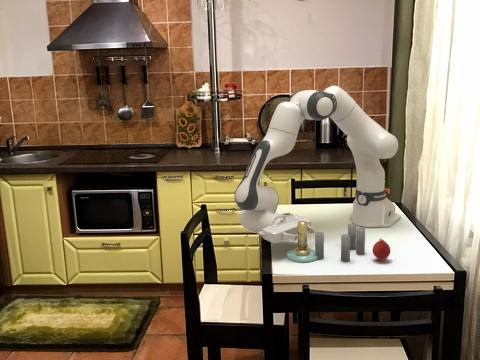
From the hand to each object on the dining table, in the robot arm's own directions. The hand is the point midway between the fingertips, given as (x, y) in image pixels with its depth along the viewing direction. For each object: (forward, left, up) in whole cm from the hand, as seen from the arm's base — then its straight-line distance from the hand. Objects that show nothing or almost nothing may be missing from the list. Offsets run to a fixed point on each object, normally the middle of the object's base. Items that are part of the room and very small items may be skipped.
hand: (304, 234), depth 185 cm
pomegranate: (-15, +21, -9) cm, 27 cm away
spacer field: (-10, +8, -8) cm, 16 cm away
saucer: (0, -1, -8) cm, 9 cm away
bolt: (0, -1, -7) cm, 7 cm away
